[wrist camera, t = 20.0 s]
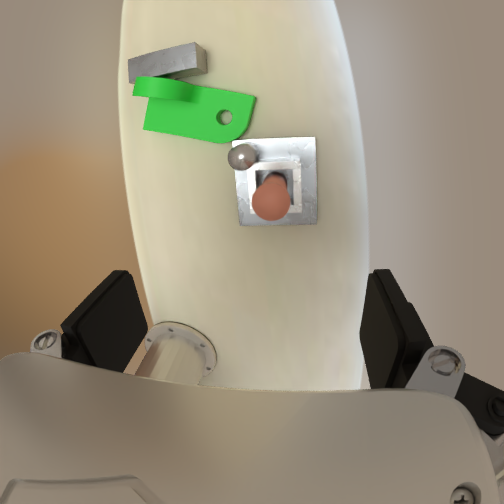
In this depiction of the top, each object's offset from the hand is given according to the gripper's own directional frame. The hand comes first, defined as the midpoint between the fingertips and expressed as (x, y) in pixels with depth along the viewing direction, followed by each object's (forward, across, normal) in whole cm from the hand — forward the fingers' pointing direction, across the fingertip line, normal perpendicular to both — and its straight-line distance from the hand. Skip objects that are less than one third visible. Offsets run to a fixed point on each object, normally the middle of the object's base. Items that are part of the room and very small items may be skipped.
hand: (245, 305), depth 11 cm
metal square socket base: (+24, 0, 0) cm, 24 cm away
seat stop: (+24, +11, -15) cm, 31 cm away
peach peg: (+23, 0, 0) cm, 23 cm away
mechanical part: (+25, +8, -9) cm, 28 cm away
